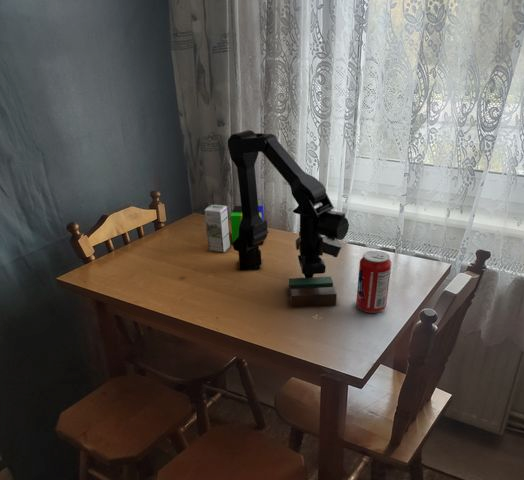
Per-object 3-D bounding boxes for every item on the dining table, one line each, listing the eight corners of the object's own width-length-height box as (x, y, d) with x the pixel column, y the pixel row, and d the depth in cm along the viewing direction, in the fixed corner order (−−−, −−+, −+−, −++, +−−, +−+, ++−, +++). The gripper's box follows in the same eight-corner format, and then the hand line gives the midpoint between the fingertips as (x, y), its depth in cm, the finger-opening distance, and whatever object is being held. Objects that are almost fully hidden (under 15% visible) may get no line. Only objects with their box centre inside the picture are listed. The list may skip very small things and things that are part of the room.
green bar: (289, 296, 138) (289, 285, 136) (288, 289, 141) (288, 278, 139) (332, 293, 138) (333, 282, 136) (330, 287, 141) (330, 276, 139)
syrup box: (230, 246, 168) (227, 204, 160) (223, 253, 163) (220, 211, 155) (215, 244, 169) (211, 203, 161) (208, 251, 165) (203, 209, 157)
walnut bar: (291, 307, 132) (291, 296, 130) (290, 300, 136) (290, 288, 134) (335, 305, 132) (336, 293, 131) (333, 298, 136) (334, 286, 134)
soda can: (379, 318, 126) (385, 265, 118) (351, 310, 130) (355, 258, 122) (390, 304, 132) (396, 253, 124) (362, 297, 135) (367, 247, 127)
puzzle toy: (264, 233, 177) (263, 206, 171) (261, 244, 168) (260, 216, 163) (236, 232, 178) (234, 205, 172) (232, 243, 169) (230, 216, 164)
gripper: (346, 243, 125) (342, 296, 134) (334, 216, 140) (331, 266, 149) (302, 245, 125) (302, 298, 134) (295, 218, 140) (295, 268, 149)
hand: (309, 281), depth 141 cm, fingers closed
